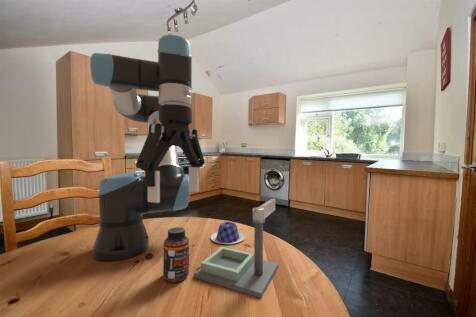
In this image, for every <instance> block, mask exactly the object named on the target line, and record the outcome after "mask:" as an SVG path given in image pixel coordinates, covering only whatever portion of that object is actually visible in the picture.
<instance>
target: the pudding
mask: <svg viewBox="0 0 476 317" xmlns="http://www.w3.org/2000/svg"><path fill="white" fill-rule="evenodd" d="M239 234H240V235H241V238H240V237H239ZM245 239H246V235H245V234H244V233H243V232H241V231H239V230H238V225H237V224H236V223H235V222H234V221H232V222H231V221H223V222H220V224H219V226H218V231H217V232H214V233H212V235H210V240H211V241H212V242H214V243H217V244H224V245H233V244H237V243H241V242H242V241H244V240H245Z"/></svg>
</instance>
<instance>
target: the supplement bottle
mask: <svg viewBox="0 0 476 317" xmlns="http://www.w3.org/2000/svg"><path fill="white" fill-rule="evenodd" d="M162 261H163V263H162V264H163V267H162V268H163V278H164V280H165V281H166V282H168V283H169V282H170V283H177V282H178V283H179V282H182V281H184V280H185V279H186V278H188V276H189V273H190V239H189V237H187V235H186V229H185V227H181V226H180V227H179V226H177V227H175V226H174V227H170V228H169V229H168V230H167V238H165V239H164V241H163V260H162Z"/></svg>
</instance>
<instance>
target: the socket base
mask: <svg viewBox="0 0 476 317" xmlns="http://www.w3.org/2000/svg"><path fill="white" fill-rule="evenodd" d="M253 224H254V225H253V226H254V230H253V231H254V234H253V236H254V237H253V238H254V240H253V241H254V245H253V246H254V248H253V249H254V251H253V252H247V251H242V250H239V249H234V248H229V247H224V246H220V247H219V248H218V249H217V250H215V251H214V252H213V253H211V254H210V255H209V256H208V257H206V258H205V259H204V260H203V261H201V262H200V268H198V269H196V271H195V272H193V278H195V279H199V280H202V281H206V282H209V283H211V284H215V285H218V286H222V287H225V288H227V289H228V288H229V289H230V290H233V291H237V292H240V293H244V294H248V295H251V296H254V297H257V298H260V299H261V298H262V297H263V295H264V293H265V292H266V290H267V289H268V287H269V285H270V283H271V281H272V279H273V277H274V276H275V274H276V272H277V270H278V269H279V263H278V262H277V263H276V262H273V261H267V260H264V246H263V245H264V223H254V222H253Z"/></svg>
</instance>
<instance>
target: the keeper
mask: <svg viewBox="0 0 476 317" xmlns="http://www.w3.org/2000/svg"><path fill="white" fill-rule="evenodd" d="M275 211H276V199H275V198H270V199H269V200H267V201H265V203H262V204H261V205H260V206H258V207H253V208H252V222H253V224H254V223H263V224H264V223H266V222H265V220H266V218H267V217H268V216H270V215H271V214H272V213H274V212H275Z"/></svg>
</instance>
